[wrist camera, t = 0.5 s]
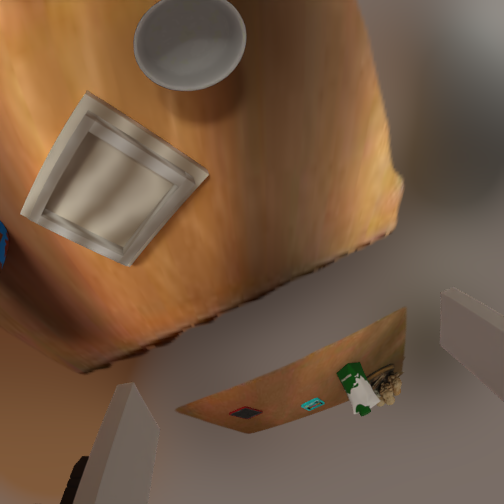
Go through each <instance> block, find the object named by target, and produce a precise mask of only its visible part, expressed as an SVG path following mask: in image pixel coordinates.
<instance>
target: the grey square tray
mask: <svg viewBox="0 0 504 504" xmlns="http://www.w3.org/2000/svg"><path fill="white" fill-rule="evenodd" d="M208 175H209V173H208V170H207V169H206V168H204V167H203V166H201V165H200V164H198V163H197V162H195V161H194V160H192V159H191V158H190V157H188V156H187V155H185V154H184V153H182V152H181V151H179V150H178V149H176V148H175V147H173V146H172V145H170V144H169V143H167V142H166V141H164V140H163V139H161V138H160V137H158V136H157V135H155V134H154V133H152V132H151V131H149V130H148V129H146V128H145V127H143V126H142V125H140V124H139V123H137V122H136V121H134V120H133V119H131V118H129V117H128V116H126V115H125V114H123V113H122V112H120V111H119V110H117V109H116V108H114V107H112V106H111V105H109V104H108V103H106V102H105V101H103V100H101V99H100V98H98V97H97V96H95V95H93V94H92V93H90V92H89V91H87V92H86V93H85V95H84V96H83V98H82V99H81V101H80V102H79V104H78V105H77V107H76V108H75V110H74V111H73V113H72V115H71V116H70V118H69V119H68V121H67V123H66V124H65V126H64V128H63V129H62V131H61V133H60V134H59V136H58V138H57V140H56V141H55V143H54V145H53V147H52V149H51V150H50V152H49V154H48V156H47V158H46V160H45V162H44V164H43V166H42V168H41V170H40V172H39V174H38V176H37V178H36V180H35V182H34V184H33V186H32V188H31V190H30V192H29V195H28V197H27V199H26V201H25V204H24V206H23V208H22V211H21V213H20V214H21V215H23V216H25V217H27V218H28V219H29V220H31V221H33V222H35V223H37V224H39V225H41V226H43V227H45V228H47V229H49V230H51V231H53V232H55V233H57V234H59V235H61V236H63V237H65V238H67V239H69V240H71V241H73V242H75V243H77V244H79V245H82V246H84V247H86V248H88V249H90V250H92V251H94V252H96V253H99V254H101V255H103V256H105V257H107V258H109V259H112V260H114V261H116V262H118V263H120V264H123V265H125V266H129V267H130V266H131V265H132V263H133V262H134V261H135V260H136V258H137V257H138V256H139V255H140V254H141V252H142V251H143V250H144V249H145V247H146V246H147V245H148V244H149V243H150V241H151V240H152V239H153V238H154V237H155V235H156V234H157V233H158V232H159V231H160V230H161V228H162V227H163V226H164V225H165V224H166V222H167V221H168V220H169V219H170V218H171V217H172V216H173V214H174V213H175V212H176V211H177V210H178V209H179V207H180V206H181V205H182V204H183V203H184V202H185V201H186V200H187V198H188V197H189V196H190V195H191V194H192V193H193V192H194V191H195V189H196V188H197V187H198V186H199V185H200V184H201V183H202V182H203V181H204V180H205V179H206V177H207V176H208Z"/></svg>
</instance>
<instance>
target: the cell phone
mask: <svg viewBox="0 0 504 504" xmlns="http://www.w3.org/2000/svg"><path fill="white" fill-rule="evenodd" d="M261 413H263V412H262V411H260V410H257V409H252V408H249V407H242V408H239V409H237V410H235V411H232V412H230V413H229V415H232V416H236V417H240V418H244V419H250V418H252V417H254V416H257V415H259V414H261Z"/></svg>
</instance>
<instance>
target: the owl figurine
mask: <svg viewBox="0 0 504 504" xmlns="http://www.w3.org/2000/svg"><path fill="white" fill-rule="evenodd" d="M394 367H395V365H394V364H389V365H387V366H385V367H383V368H380V369H379V370H377V371H375V372H373V373H372V374H370V375H369V376H367V377H366V378H367V380H368V382H369V384H370V386H371V388H372V390H373V391H374V393H375V394H376V396H377V397H378V398H379V400H380V402H379V403H377V404H376V405H377V406H383V405H384V404H385V403H386V404H387V405H392V404H393V403H394V402H395V398H394V397H393V395H394V396H396V395H399V394H400V393H401V389H400V387H401V384H402V382H401V380H400V378H399V377H397V376H398V375H399V373H397V372H396V373H394V372H393V370H394Z"/></svg>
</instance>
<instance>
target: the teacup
mask: <svg viewBox="0 0 504 504" xmlns="http://www.w3.org/2000/svg"><path fill="white" fill-rule="evenodd" d="M246 36H247V35H246V28H245V24H244V22H243V19H242V18H241V16H240V14H239V12H238V11H237V10H236V8H235V7H234V6H233V5H232V4H231V3H230V2H228V1H227V0H161V1H159V2H158V3H156V4H155V5H154V6H152V7H151V8H150V9H149V10H148V11H147V12H146V13H145V14H144V15H143V17H142V19H141V20H140V22H139V23H138V26H137V28H136V32H135V35H134V54H135V58H136V61H137V63H138V65H139V67H140V69H141V70H142V71H143V73H144V74H145V75H146V76H147V77H148V78H149V79H150V80H152V81H153V82H154V83H156V84H158V85H160V86H162V87H164V88H167V89H171V90H177V91H194V90H200V89H205V88H207V87H210V86H212V85H214V84H216V83H218V82H220V81H222V80H223V79H224V78H226V77H227V76H228V75H229V74H230V73H231V72H232V71H233V70H234V69H235V67H236V66H237V65H238V63H239V61H240V60H241V58H242V56H243V53H244V50H245V46H246Z"/></svg>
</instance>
